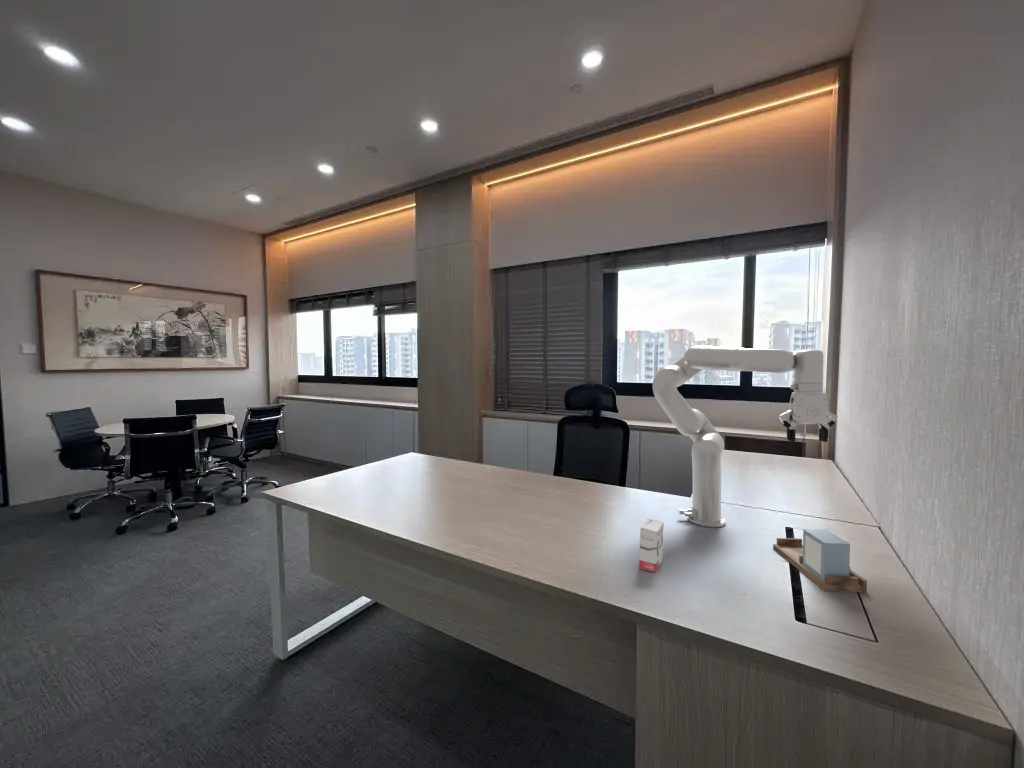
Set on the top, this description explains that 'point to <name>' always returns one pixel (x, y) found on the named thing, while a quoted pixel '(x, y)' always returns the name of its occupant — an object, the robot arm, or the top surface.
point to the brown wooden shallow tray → (794, 554)
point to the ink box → (651, 545)
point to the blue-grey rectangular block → (825, 553)
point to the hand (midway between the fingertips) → (807, 441)
